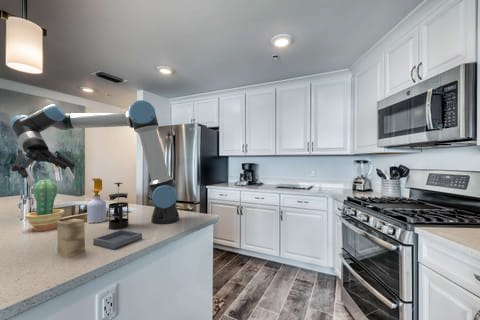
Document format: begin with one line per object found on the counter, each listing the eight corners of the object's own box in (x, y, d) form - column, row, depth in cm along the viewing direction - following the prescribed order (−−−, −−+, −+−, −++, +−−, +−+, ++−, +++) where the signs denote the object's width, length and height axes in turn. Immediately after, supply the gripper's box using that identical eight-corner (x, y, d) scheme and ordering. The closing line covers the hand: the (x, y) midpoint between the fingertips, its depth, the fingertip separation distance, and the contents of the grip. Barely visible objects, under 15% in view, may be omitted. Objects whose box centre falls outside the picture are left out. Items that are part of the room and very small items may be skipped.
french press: (131, 227, 114) (131, 182, 114) (110, 231, 108) (110, 184, 108) (125, 222, 123) (125, 181, 123) (106, 225, 117) (105, 182, 117)
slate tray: (121, 234, 103) (121, 229, 103) (142, 238, 97) (142, 233, 97) (93, 244, 91) (93, 238, 91) (114, 250, 86) (114, 243, 86)
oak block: (75, 248, 87) (75, 218, 87) (84, 251, 85) (84, 220, 85) (57, 254, 82) (57, 222, 82) (67, 257, 79) (66, 224, 79)
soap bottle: (84, 224, 121) (84, 179, 121) (91, 219, 130) (90, 177, 130) (103, 222, 123) (102, 178, 123) (108, 218, 132) (107, 177, 132)
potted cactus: (62, 222, 125) (61, 177, 125) (67, 227, 115) (66, 179, 115) (24, 228, 114) (23, 179, 114) (26, 235, 104) (25, 181, 104)
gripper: (63, 151, 106) (83, 184, 100) (-12, 149, 83) (7, 192, 77) (70, 140, 104) (90, 173, 98) (-6, 135, 81) (14, 177, 75)
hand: (53, 181), depth 87 cm, fingers open, 13 cm apart
